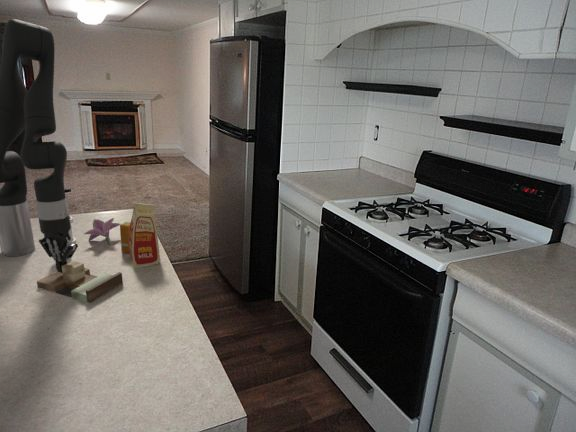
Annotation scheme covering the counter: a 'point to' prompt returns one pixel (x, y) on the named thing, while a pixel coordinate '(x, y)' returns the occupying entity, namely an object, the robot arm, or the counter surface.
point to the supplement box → (125, 237)
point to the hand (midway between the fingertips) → (62, 271)
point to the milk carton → (143, 236)
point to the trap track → (81, 285)
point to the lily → (101, 228)
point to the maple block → (73, 271)
